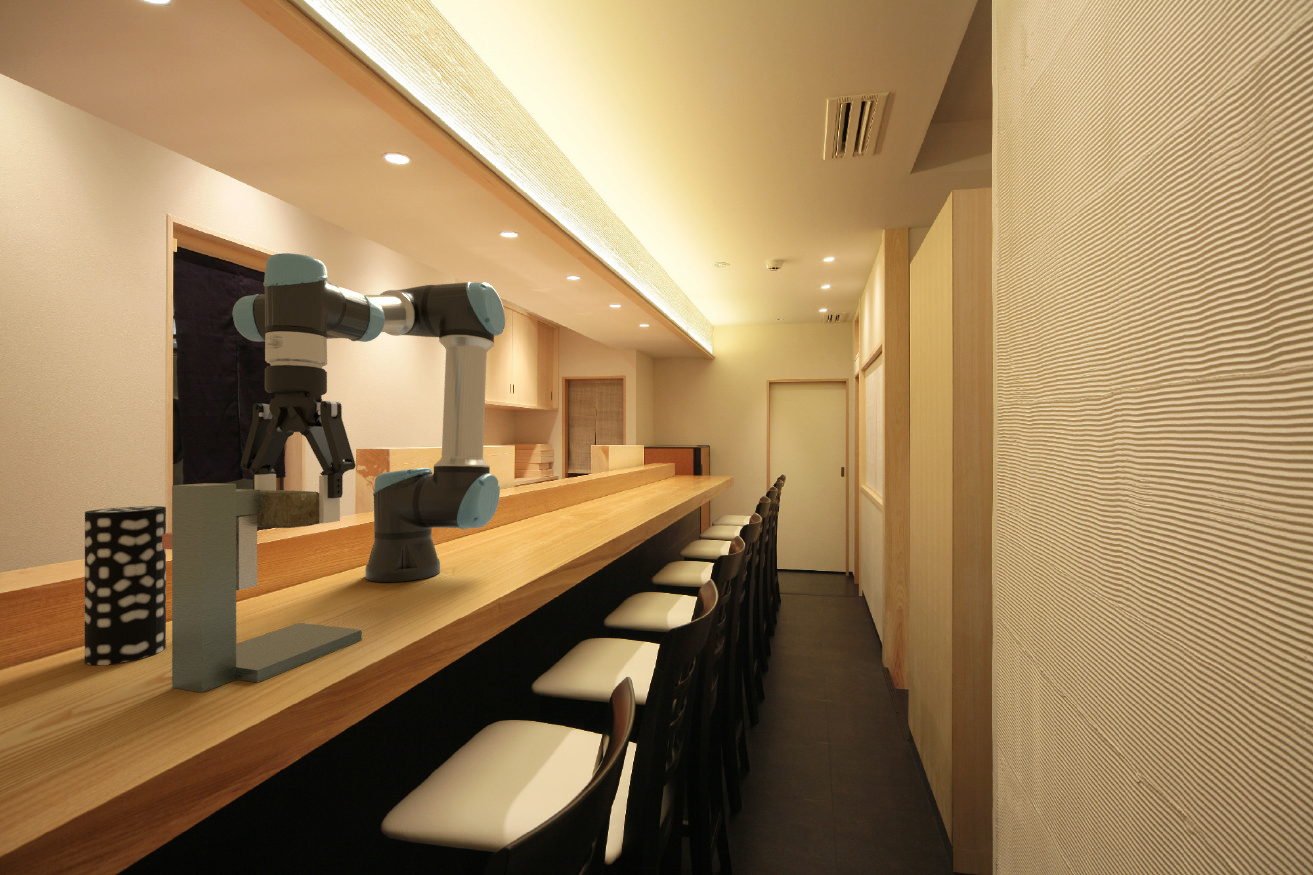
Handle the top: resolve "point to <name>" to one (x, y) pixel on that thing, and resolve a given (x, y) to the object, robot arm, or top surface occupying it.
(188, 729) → the top surface
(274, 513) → the stone block
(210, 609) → the press
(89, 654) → the white-spotted black cylinder
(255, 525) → the hammer
